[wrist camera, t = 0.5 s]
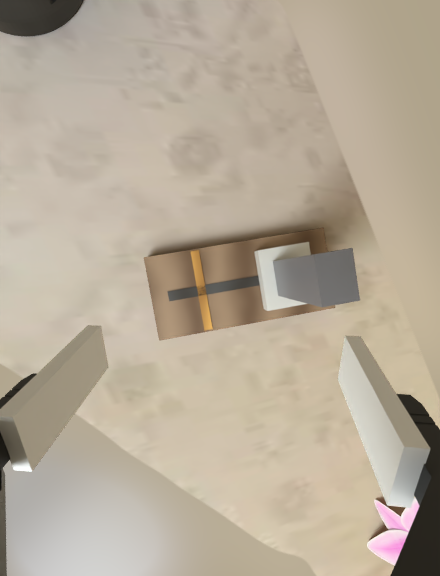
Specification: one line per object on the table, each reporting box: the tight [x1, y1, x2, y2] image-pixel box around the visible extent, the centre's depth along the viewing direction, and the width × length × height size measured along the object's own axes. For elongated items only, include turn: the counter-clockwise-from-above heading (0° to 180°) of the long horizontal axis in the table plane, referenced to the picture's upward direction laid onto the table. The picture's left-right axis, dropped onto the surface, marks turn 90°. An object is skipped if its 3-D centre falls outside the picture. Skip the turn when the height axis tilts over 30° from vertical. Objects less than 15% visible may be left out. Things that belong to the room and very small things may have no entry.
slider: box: [254, 242, 360, 311], centre depth 30 cm, size 6×7×14 cm
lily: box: [367, 498, 419, 565], centre depth 38 cm, size 12×12×10 cm
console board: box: [144, 228, 335, 340], centre depth 37 cm, size 22×10×2 cm, turn 100°
